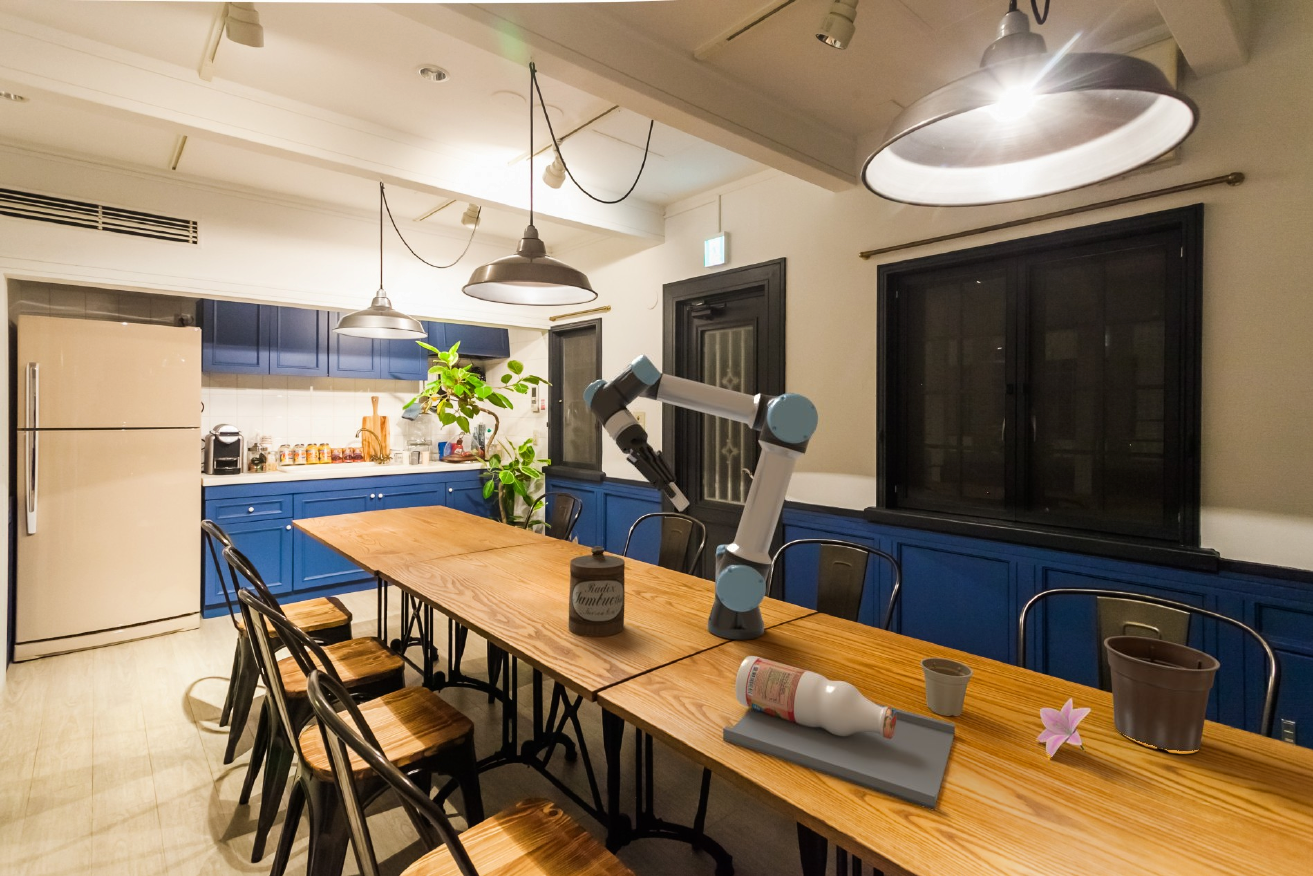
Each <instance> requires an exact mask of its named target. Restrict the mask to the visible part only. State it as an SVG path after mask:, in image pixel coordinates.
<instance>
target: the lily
mask: <svg viewBox="0 0 1313 876" xmlns="http://www.w3.org/2000/svg"><path fill="white" fill-rule="evenodd" d="M1073 706H1074V705H1073V698H1072V697H1071V698H1069V699H1068V700H1067V701H1066V702H1065V703H1064V705H1063V706H1062V708H1061V710H1060V711H1059V710H1058V709H1054V708H1050V707H1042V708H1040V710H1039V714H1040V719H1041V722H1042V723H1043V726H1044V727H1045V729H1044V730H1042V732H1041V733H1039V735H1038V736H1037V737H1036V739H1038V740H1039V741H1040V742H1039V743H1045V742H1046V743H1045V753H1046V752H1047V753H1048V754H1050V756H1051V757H1052V758H1053V757H1054V755H1055V754H1056V752H1057V751H1058V749H1059V748H1060V746H1061V745H1063V743H1064V742H1065V743H1068V744H1070V745H1074V746H1075V745H1076V746H1079V747H1080V748H1081V750H1082V751H1083V750H1085V749H1084V747H1083V743H1082V739H1081V736H1080V734H1079V732H1078V729H1077V726H1078V724H1079V723H1080V722H1081V721H1082V720H1083V719H1084V718H1085V717H1086V716H1087V715H1088V714H1089V713H1090V712H1091V708H1090V707H1079V708H1075V709H1073V708H1074V707H1073ZM1047 753H1046V754H1047Z"/></svg>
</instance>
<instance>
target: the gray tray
mask: <svg viewBox="0 0 1313 876" xmlns="http://www.w3.org/2000/svg"><path fill="white" fill-rule="evenodd" d="M873 703H874V704H876V705H878V706H880V707H888V706H886V705H883V704H880V703H879V704H878V703H876V702H873ZM889 707H890V706H889ZM890 708H893V709H895V710H896V727H895V732H894V735H893V737H892V738H891V739H889V738H885V737H883V736H881V735H880V734H879V733H875V732H856V733H854V734H851V735H849V736H837V735H834V734H832V733H830V732H829V731H827V730H826V729H824V728H822V727H808V726H804V725H801V724H798V723H795V722H792V721H789V720H786V719H783V718H780V717H777V716H774V715H771V714H768V713H765V712H762V711H759V710H756V709H753V708H751V709H750V710H749V711H748V712H747V713H746V714H744V716H742V718H741V719H739V721H738V722H736V723H735V725H733V726H727V725H726V726H725V727H724V728H723V729H722V730H723V732H722V740H723V741H725V742H728V743H731V744H734V745H737V746H740V747H743V748H746V749H749V750H752V751H756V752H758V753H761V754H764V755H767V756H770V757H772V758H776V759H778V760H782V761H785V762H788V763H790V764H794V765H798V766H800V767H802V768H805V769H807V770H808V769H809V770H812V771H814V772H818V773H821V774H825V775H826V776H829V777H833V778H835V779H839V780H842V781H845V782H848V783H851V784H854V785H857V786H859V787H863V788H866V789H868V790H872V791H875V792H878V793H881V794H884V795H887V796H890V797H893V798H896V799H899V800H902V801H905V802H907V803H911V804H914V805H916V804H917V806H919V805H920V806H919V807H922V806H924V807H923V808H926V809H928V808H930V809H929V810H931V809H933V810H932V811H935V809H936V806H937V802H936V801H938V797H939V795H940V791H939V790H941V787H942V783H943V780H944V776H943V775H945V771H946V769H945V768H947V765H946V764H948V761H949V757H948V756H950V754H949V753H951V750H950V749H952V746H951V745H953V743H954V739H955V735H956V734H955V732H956V724H955V723H953V722H950V721H949V722H948V721H945V720H940V719H936V718H933V717H930V716H925V715H921V714H917V713H914V712H909V711H906V710H902V709H897V708H895V707H892V706H891V707H890ZM954 734H955V735H954ZM953 738H954V739H953ZM952 742H953V743H952ZM947 760H948V761H947ZM942 779H943V780H942ZM938 794H939V795H938ZM935 805H936V806H935Z"/></svg>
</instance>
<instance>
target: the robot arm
mask: <svg viewBox="0 0 1313 876" xmlns="http://www.w3.org/2000/svg"><path fill="white" fill-rule="evenodd" d="M638 397H639V398H645V399H649V400H653V401H658V402H661V403H664V404H665V403H666V404H670V405H674V406H677V407H681V408H684V409H689V410H693V411H696V412H700V413H704V414H708V415H712V416H717V417H720V418H723V419H724V418H725V419H728V420H731V421H735V422H739V423H744V424H747V425H748V428H750V429H752V430H755V431H759V432H760V433H759V437H758V443H759V445H760V447H761V452H760V456H759V458H758V459H759V460H758V462H757V465H756V469H755V472H754V475H753V478H752V481H751V485H750V488H749V492H748V493H747V494H748V495H747V499H746V502H745V505H744V508H743V512H742V515H741V518H740V521H739V525H738V528H737V529H736V530H737V531H736V534H735V538H734V541H733V542H732V543H730V544H720V545H718V546H717V548H716V551H715V552H716V553H715V580H714V581H715V583H714V586H715V587H714V590H715V591H714V602H713V604H712V608H711V611H710V614H709V617H708V619H707V630H708V632H709V633H711V634H712V635H714V636H716V637H720V638H725V639H728V640H742V641H743V640H744V641H745V640H754V639H758V638H760V637H762V636H763V635H764V633H765V623H764V620H763V616H762V613H761V612H762V611H761V609H760V605H761V603H762V602H763V601H764V598H765V595H766V591H767V586H766V581H767V578H768V575H769V572H770V569H771V565H772V562H773V560H772V559H771V557H770V555H769V550H770V547H771V543H772V541H773V538H774V537H773V536H774V533H775V531H776V529H777V528H776V527H777V524H778V521H779V518H780V514H781V511H782V508H783V505H784V501H785V498H786V495H787V492H788V489H789V485H790V482H791V479H792V476H793V473H794V470H795V469H794V468H795V467H796V462H797V460H799V459H800V458H802V457H803V456H805V455H806V453H807V448H808V446H809V443H810V439H811V437H812V436H813V435H814V433H815V431H816V430H817V427H818V422H819V413H818V410H817V408H816V405H814V402H812V401H811V400H810V399H809V398H807V397H806V396H805V395H802V394H799V393H794V392H787V393H783V394H781V395H768V394H763V393H760V392H759V393H757V394H755V395H751V394H749V393H748V394H747V393H743V392H739V391H735V390H731V389H729V388H728V389H727V388H722V387H719V386H716V385H710V384H707V383H703V382H699V381H695V380H691V379H687V378H682V377H679V376H675V375H671V374H667V373H662V372H660V371H659V369H658V368H657V367H656V366H655V365H654V364H653V362H652V361H651V360H650V359H649V358H648V356H646V355H645V354H641V355H639V356H638V357H637V358H635V359H634V360H631V362H630V363H629V364H628V365H626V367H625V368H623V369H622V370H621V371H620V372H619V373H618V374H617V375H616V376H614V377H613V378H612V379H611V380H609V381H608V382H607V381H606V380H604V379H597V380H595V382H591V383H590V384H589V385H588V386H587V387H586V388H585V390H584V392H583V396H582V398H583V400H584V402H585V404H586V405H587V407H588V408H589V411H590V412H592V414H593V415H594V416H595V418H596V419H597V420H598V422H599V423H600V424H601V425H602V427H603V428H604V430H605V431H606V432H607V433H608V435H609V438H611V439H612V441H614V442H615V445H616V446H617V447H618V448H619V450H620V451H621V452H622V453H623V454H625V455H628V456H627V457H626V458H625V459H626V461H627V462H628V463H630V464H631V465H632V466H634V468H636V470H637V471H638V472H639V473H640V474H641V475H642V476H643V477H644V478H645V479H646V480H647V482H648V483H650V484H651V485H652V487H653V488H655V489H657V491H658V492H659V493H660V492H662V491H663V492H664V494H666V496H667V497H668V499H669V500H670V501H671V503H672V504H673V505H674V507H675V508H676V509H677V510H678V512H683V511H684V510H685V509H686V508H688V506H689V505H690V501H689V500H688V499H687V498H686V496H685V495H684V493H682V491H681V490H680V489H679V487H678V486H677V485H676V483H675V482H676V481H677V477H676V475H675V474H674V472H673V470H672V468H671V467H670V465H669V464H668V462H667V461H666V458H665V457H664V454H663V452H662V451H661V450H659V449H658V450H657V451H656V450H654V448H653V447H652V446H651V445H650V444H649V443H648V439H649V434H648V432H647V431H646V430H645V429H644V428H643V427H642V425H641V424H639V421H638V420H637V419H636V417H635V416H634V415H633V414H632V412H631V411H630V410H629V409H628V407H627V406H629V405H630V404H631V403H632V402H633V401H634V400H637V398H638Z"/></svg>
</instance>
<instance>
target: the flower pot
mask: <svg viewBox="0 0 1313 876" xmlns="http://www.w3.org/2000/svg"><path fill="white" fill-rule="evenodd" d="M920 666H921V668H922V672H923V675H924V685H925V695H926V696H925V697H926V706H927V708H929V709H930V711H932V712H933V713H936V714H938V715H940V716H941V715H942V716H944V717H949V716H954V717H959V716H960V715H962V713H963V707H964V704H965V703H964V702H965V697H966V693H967V687H968V684H969V682H970V681H971V677H972V676H973V675H974V671H973V669H972V668H971V667H969V665H966V664H965V663H962V662H959V661H956V660H953V659H949V658H948V659H947V658H941V657H940V658H939V657H927V658H923V659H921V661H920Z"/></svg>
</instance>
